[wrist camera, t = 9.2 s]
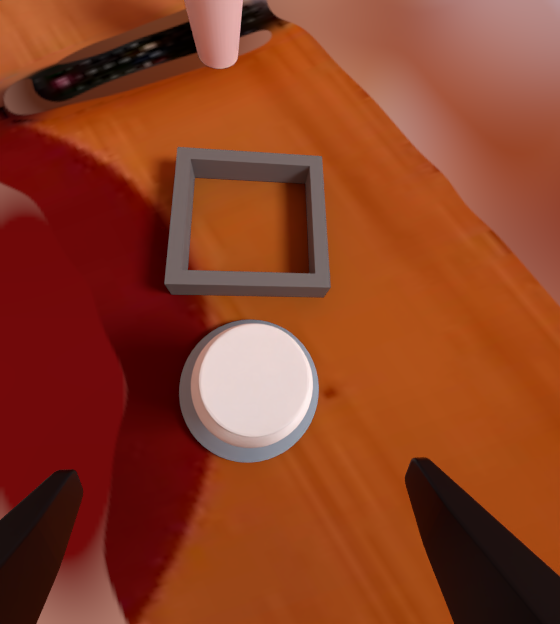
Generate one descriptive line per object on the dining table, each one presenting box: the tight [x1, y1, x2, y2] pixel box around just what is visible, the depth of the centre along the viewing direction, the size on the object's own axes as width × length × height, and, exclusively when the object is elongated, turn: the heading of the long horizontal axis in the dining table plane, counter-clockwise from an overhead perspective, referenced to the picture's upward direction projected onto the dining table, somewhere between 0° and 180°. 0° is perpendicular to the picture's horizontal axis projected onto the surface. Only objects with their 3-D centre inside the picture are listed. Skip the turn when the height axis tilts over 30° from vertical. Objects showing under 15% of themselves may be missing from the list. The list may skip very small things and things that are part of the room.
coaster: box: [179, 320, 319, 462], centre depth 21 cm, size 9×9×1 cm
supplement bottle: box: [191, 323, 313, 448], centre depth 16 cm, size 5×5×10 cm
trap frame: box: [164, 147, 331, 297], centre depth 23 cm, size 11×11×2 cm
